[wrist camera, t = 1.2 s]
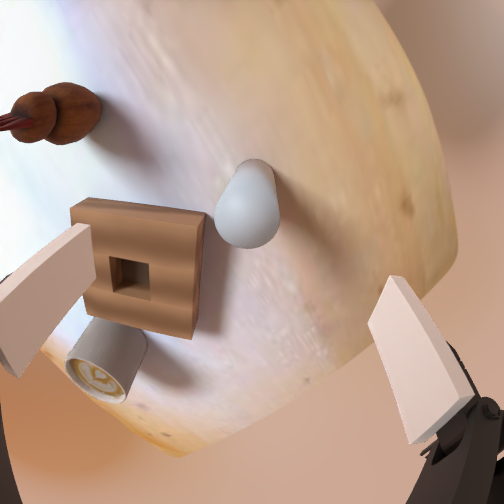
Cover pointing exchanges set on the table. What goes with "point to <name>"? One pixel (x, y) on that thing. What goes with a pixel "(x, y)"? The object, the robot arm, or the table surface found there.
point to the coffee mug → (106, 359)
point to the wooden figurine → (53, 115)
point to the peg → (249, 206)
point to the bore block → (144, 264)
